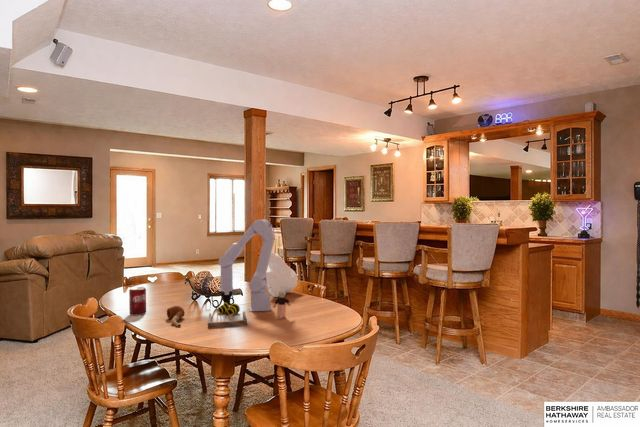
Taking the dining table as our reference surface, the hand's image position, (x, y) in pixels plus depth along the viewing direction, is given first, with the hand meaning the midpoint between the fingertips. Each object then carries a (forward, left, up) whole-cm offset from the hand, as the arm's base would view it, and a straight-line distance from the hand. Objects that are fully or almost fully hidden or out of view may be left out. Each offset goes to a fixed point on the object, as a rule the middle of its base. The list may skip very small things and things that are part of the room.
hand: (226, 306), depth 208 cm
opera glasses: (-1, +10, -1) cm, 11 cm away
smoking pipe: (+21, +19, -1) cm, 28 cm away
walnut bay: (0, +25, -1) cm, 25 cm away
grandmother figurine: (-24, +25, -1) cm, 35 cm away
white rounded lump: (-29, -28, -1) cm, 40 cm away
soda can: (+41, 0, -1) cm, 41 cm away
